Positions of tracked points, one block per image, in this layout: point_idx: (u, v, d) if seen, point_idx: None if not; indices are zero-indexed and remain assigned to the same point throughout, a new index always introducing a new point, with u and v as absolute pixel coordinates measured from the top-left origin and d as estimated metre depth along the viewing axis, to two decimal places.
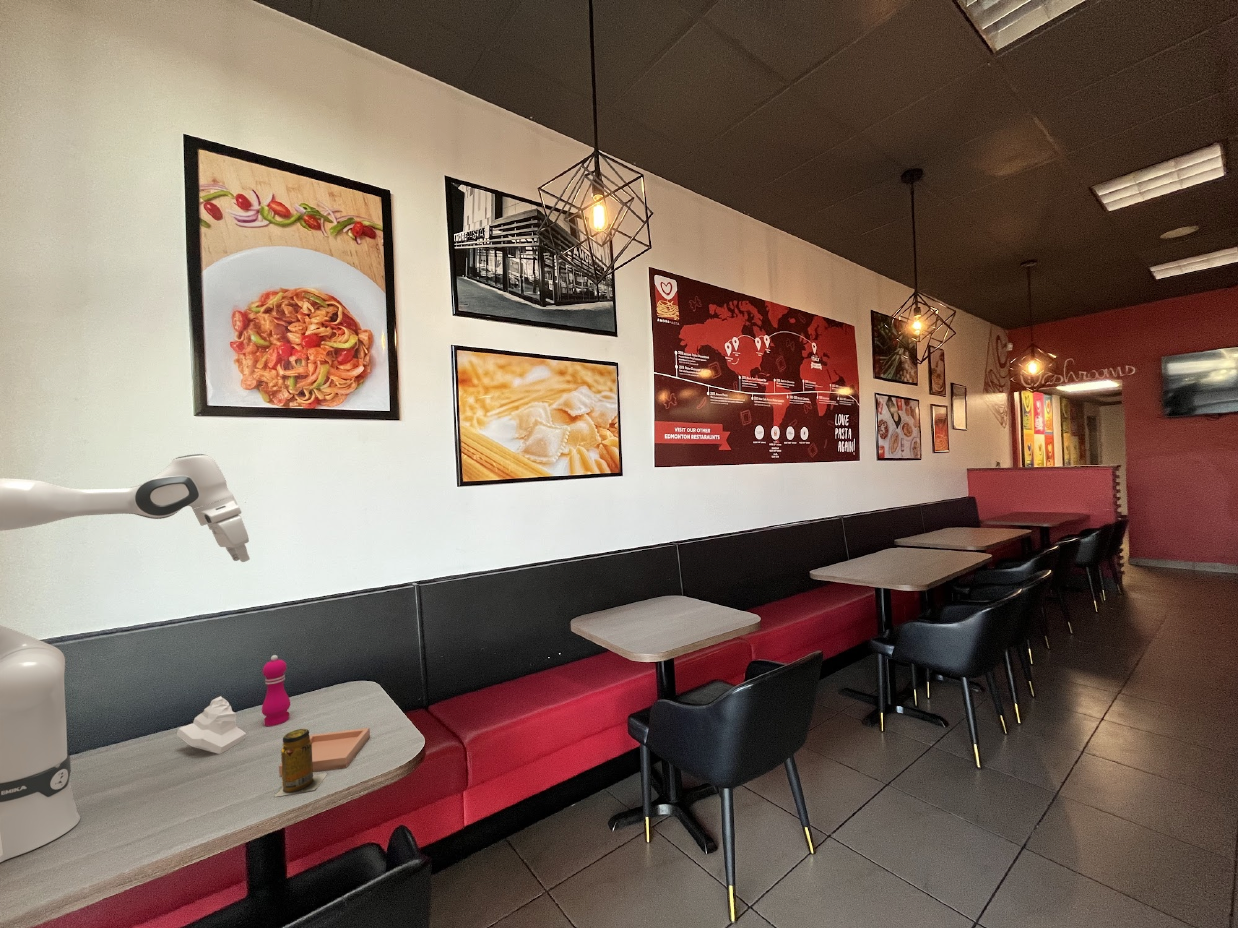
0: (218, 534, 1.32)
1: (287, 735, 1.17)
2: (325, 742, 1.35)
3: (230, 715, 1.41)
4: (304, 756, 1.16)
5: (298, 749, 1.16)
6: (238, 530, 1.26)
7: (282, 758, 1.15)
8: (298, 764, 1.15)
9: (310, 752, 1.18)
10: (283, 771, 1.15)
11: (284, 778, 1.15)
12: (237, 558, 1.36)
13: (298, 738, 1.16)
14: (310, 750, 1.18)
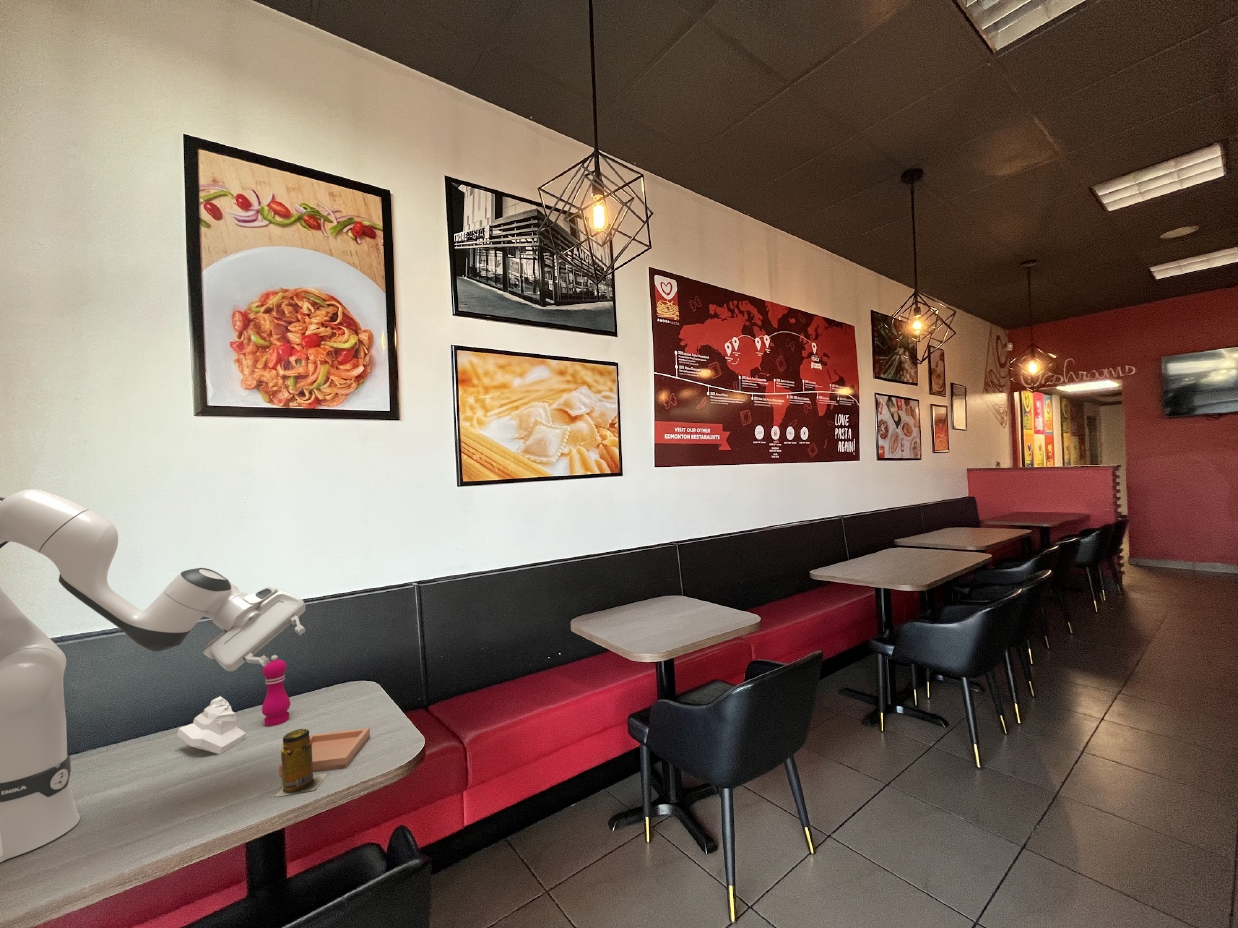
0: (250, 630, 1.20)
1: (287, 735, 1.17)
2: (325, 742, 1.35)
3: (230, 715, 1.41)
4: (304, 756, 1.16)
5: (298, 749, 1.16)
6: None
7: (282, 758, 1.15)
8: (298, 764, 1.15)
9: (310, 752, 1.18)
10: (283, 771, 1.15)
11: (284, 778, 1.15)
12: None
13: (298, 738, 1.16)
14: (310, 750, 1.18)
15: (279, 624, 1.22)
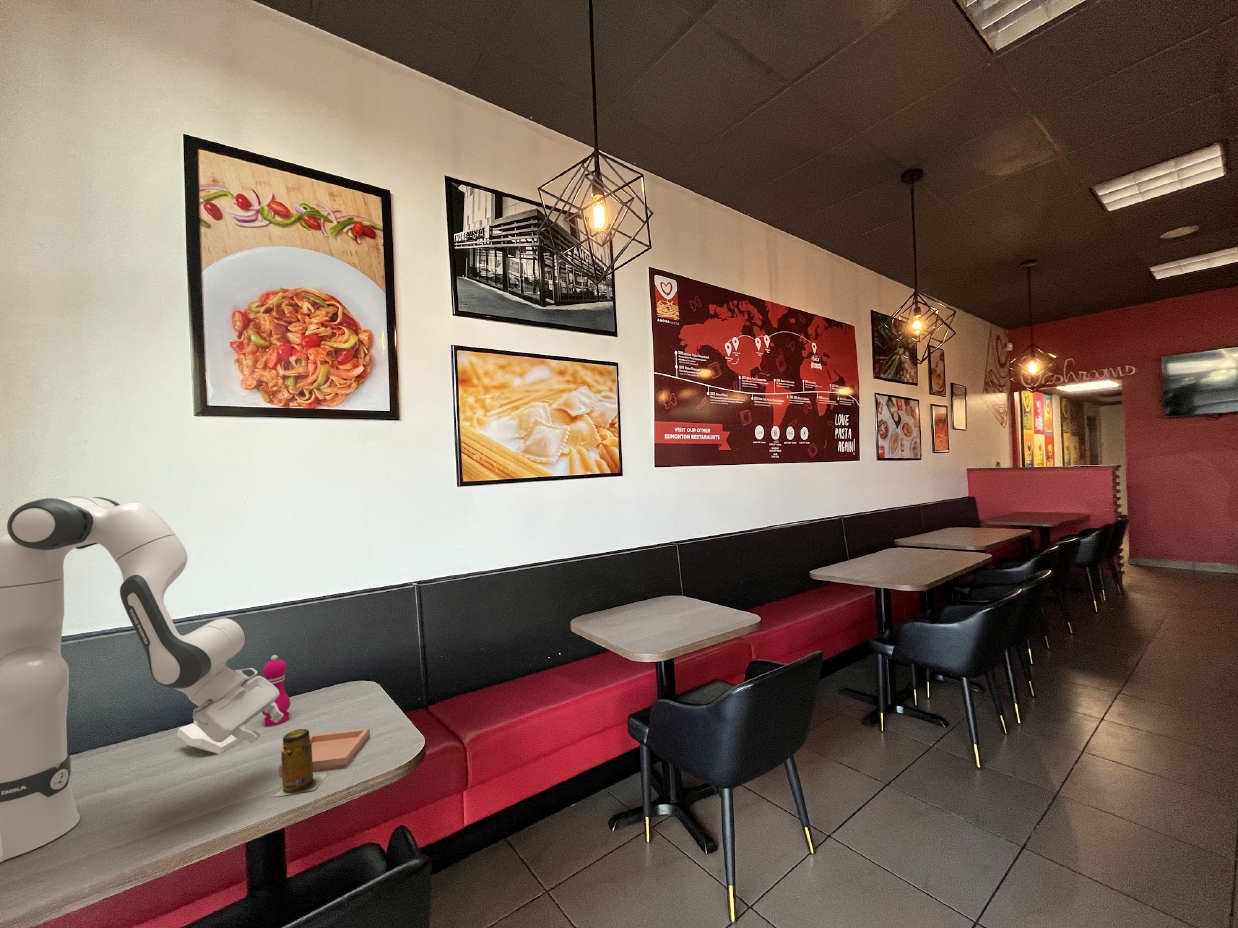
0: (240, 703, 1.15)
1: (287, 735, 1.17)
2: (325, 742, 1.35)
3: None
4: (304, 756, 1.16)
5: (298, 749, 1.16)
6: None
7: (282, 758, 1.15)
8: (298, 764, 1.15)
9: (310, 752, 1.18)
10: (283, 771, 1.15)
11: (284, 778, 1.15)
12: None
13: (298, 738, 1.16)
14: (310, 750, 1.18)
15: (264, 705, 1.20)
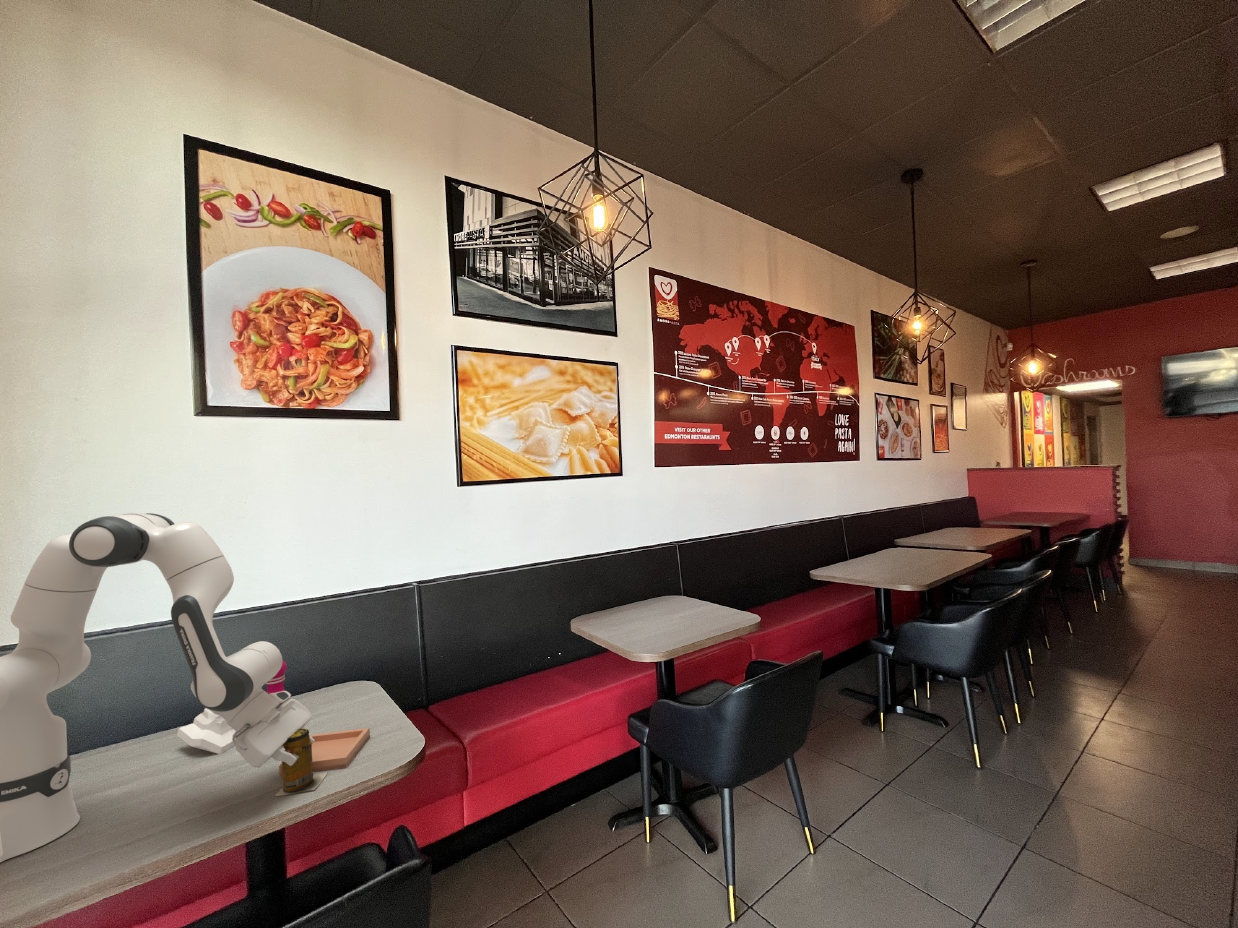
0: (276, 727, 1.16)
1: None
2: (325, 742, 1.35)
3: None
4: (303, 755, 1.16)
5: (298, 748, 1.16)
6: None
7: None
8: (298, 764, 1.15)
9: (310, 752, 1.18)
10: (283, 771, 1.15)
11: (284, 778, 1.15)
12: None
13: (298, 738, 1.16)
14: (310, 750, 1.18)
15: None
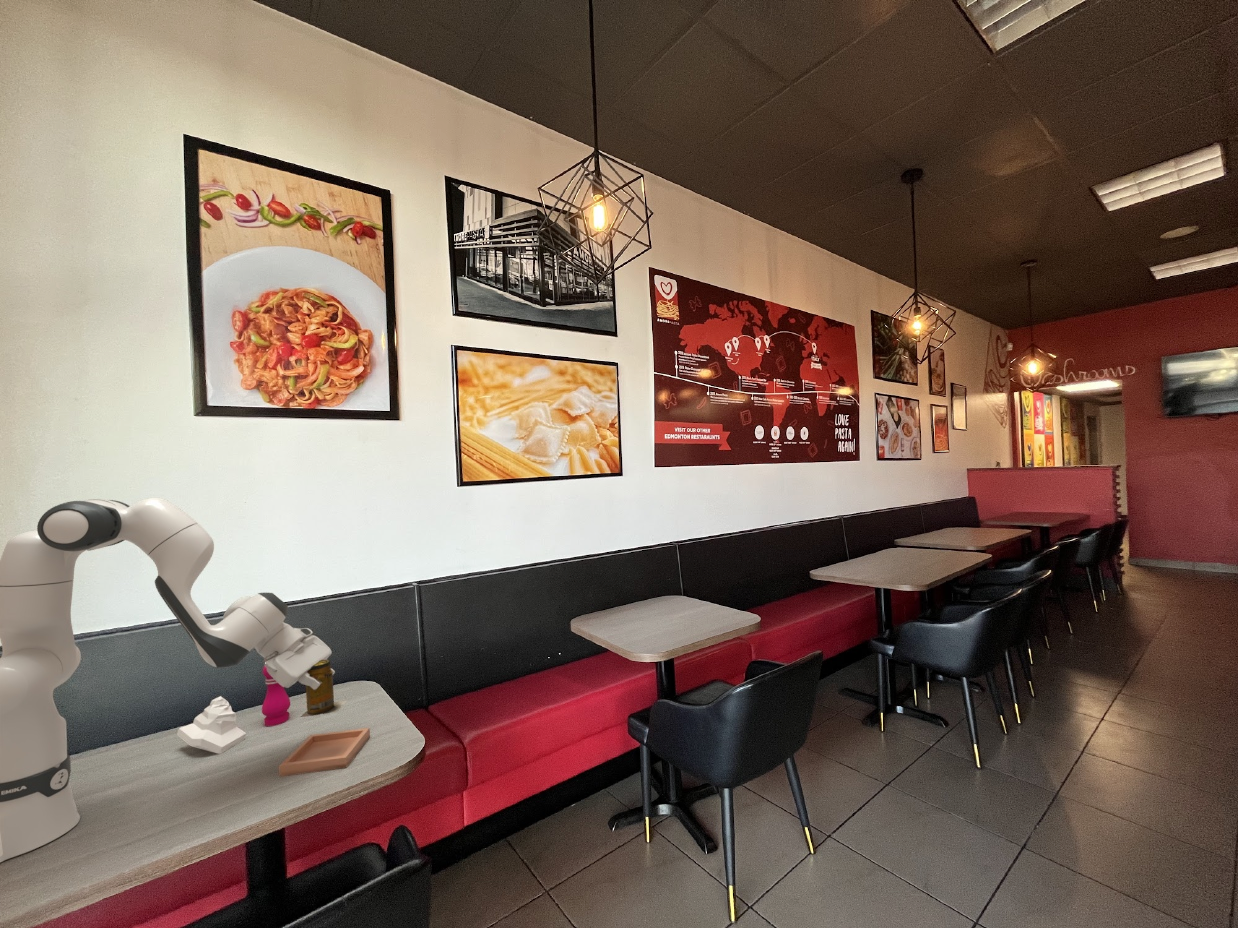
0: (301, 656, 1.29)
1: None
2: (325, 742, 1.35)
3: (230, 715, 1.41)
4: (326, 682, 1.29)
5: (321, 675, 1.28)
6: None
7: None
8: (321, 689, 1.28)
9: (331, 680, 1.31)
10: (307, 695, 1.28)
11: (308, 701, 1.28)
12: None
13: (321, 666, 1.29)
14: (331, 678, 1.31)
15: None
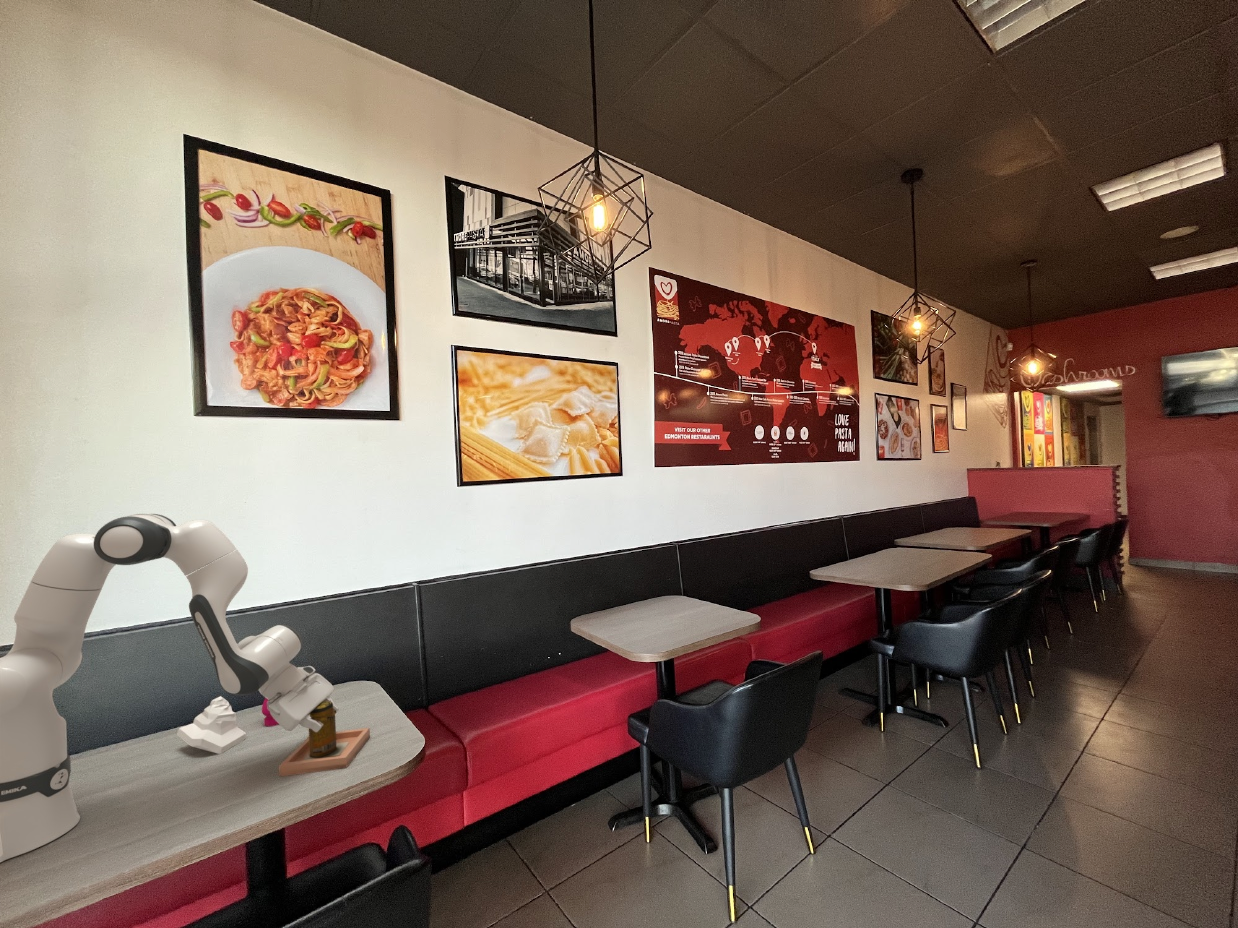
0: (304, 697, 1.29)
1: None
2: None
3: (230, 715, 1.41)
4: (328, 725, 1.29)
5: (324, 718, 1.29)
6: None
7: None
8: (324, 732, 1.28)
9: (334, 722, 1.31)
10: (310, 738, 1.28)
11: (311, 745, 1.28)
12: None
13: (323, 709, 1.29)
14: (334, 720, 1.31)
15: (323, 699, 1.33)
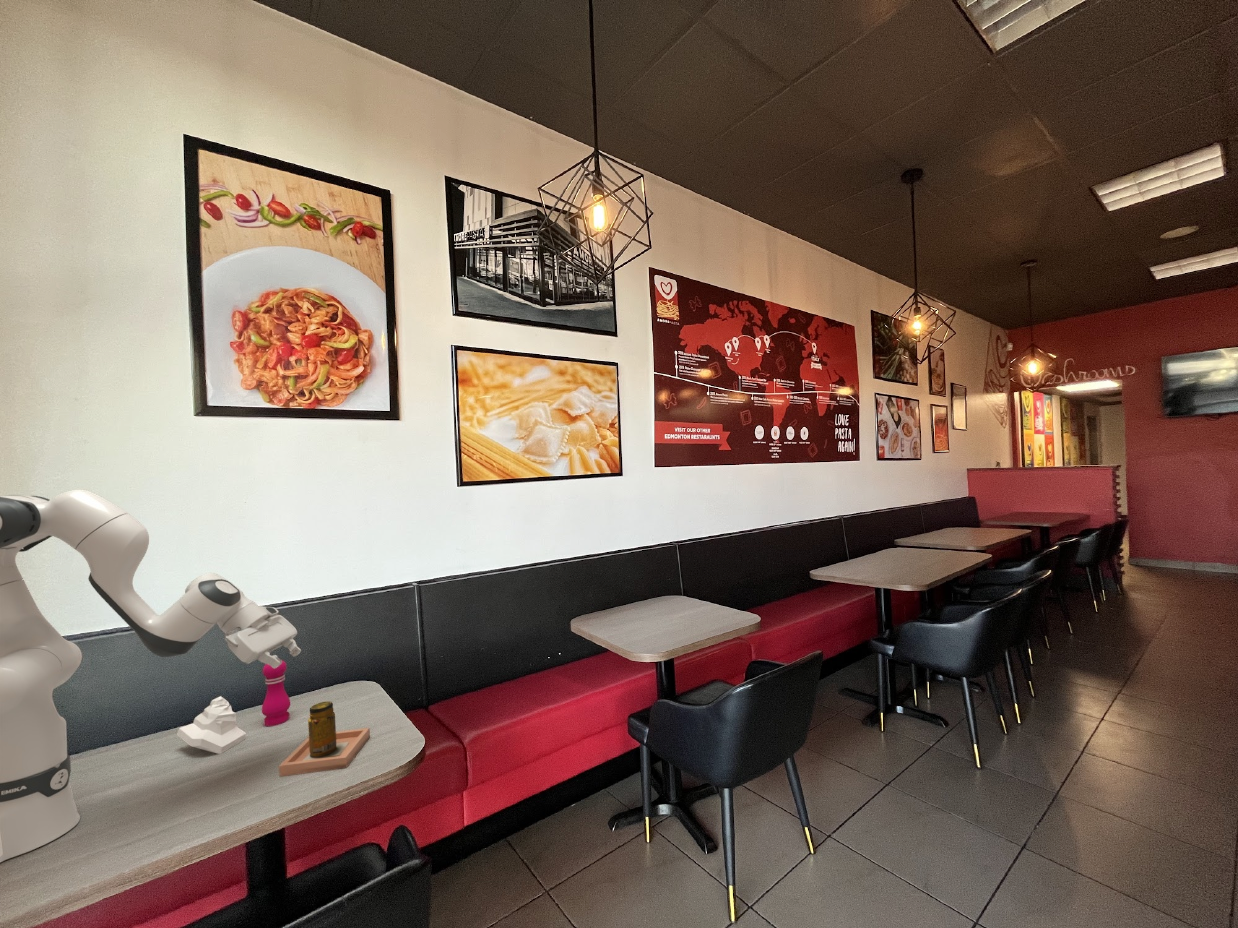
0: (264, 634, 1.27)
1: (313, 706, 1.30)
2: None
3: (230, 715, 1.41)
4: (328, 725, 1.29)
5: (324, 718, 1.29)
6: None
7: (309, 727, 1.28)
8: (324, 732, 1.28)
9: (334, 722, 1.31)
10: (310, 738, 1.28)
11: (311, 745, 1.28)
12: None
13: (323, 709, 1.29)
14: (334, 720, 1.31)
15: (284, 639, 1.32)
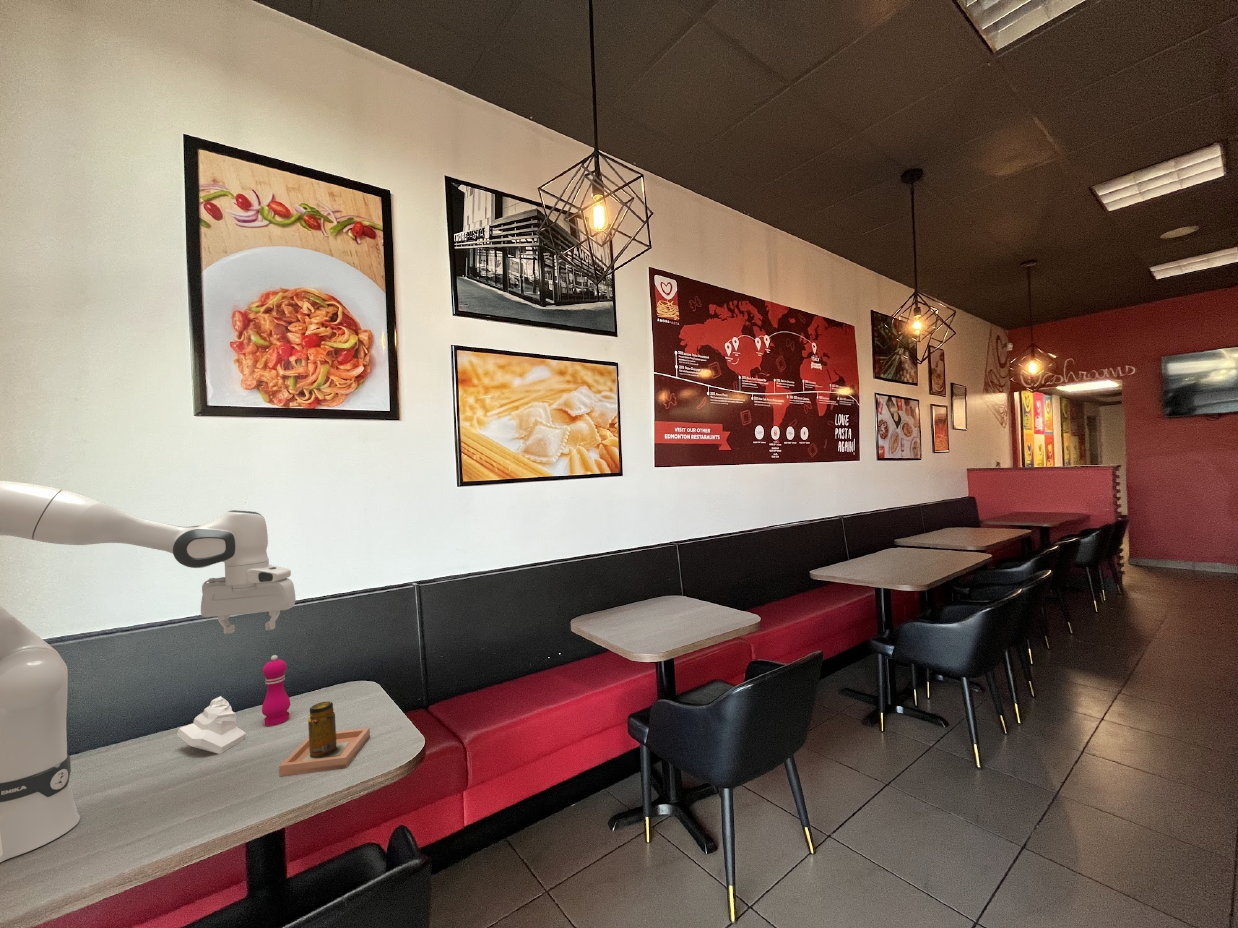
0: (236, 598, 1.23)
1: (313, 706, 1.30)
2: None
3: (230, 715, 1.41)
4: (328, 725, 1.29)
5: (324, 718, 1.29)
6: (292, 593, 1.26)
7: (309, 727, 1.28)
8: (324, 732, 1.28)
9: (334, 722, 1.31)
10: (310, 738, 1.28)
11: (311, 745, 1.28)
12: (231, 630, 1.24)
13: (323, 709, 1.29)
14: (334, 720, 1.31)
15: (257, 612, 1.23)
